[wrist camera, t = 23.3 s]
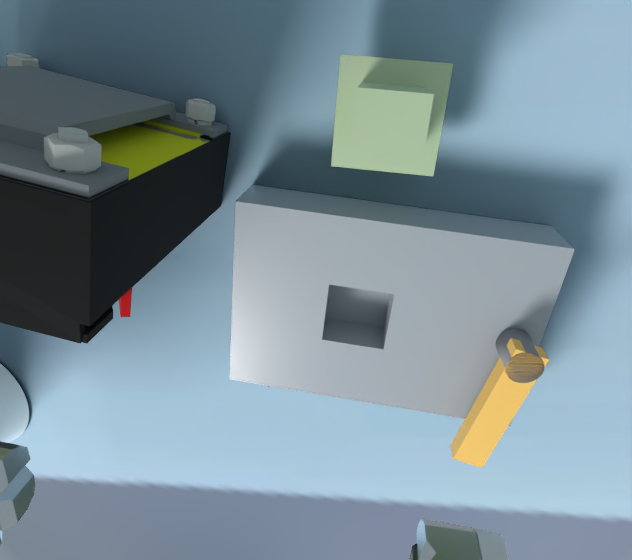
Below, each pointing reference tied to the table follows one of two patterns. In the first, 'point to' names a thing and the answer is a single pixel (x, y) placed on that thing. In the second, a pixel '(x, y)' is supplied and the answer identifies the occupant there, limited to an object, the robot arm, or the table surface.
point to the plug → (389, 114)
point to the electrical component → (94, 193)
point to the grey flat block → (383, 297)
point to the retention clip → (499, 396)
